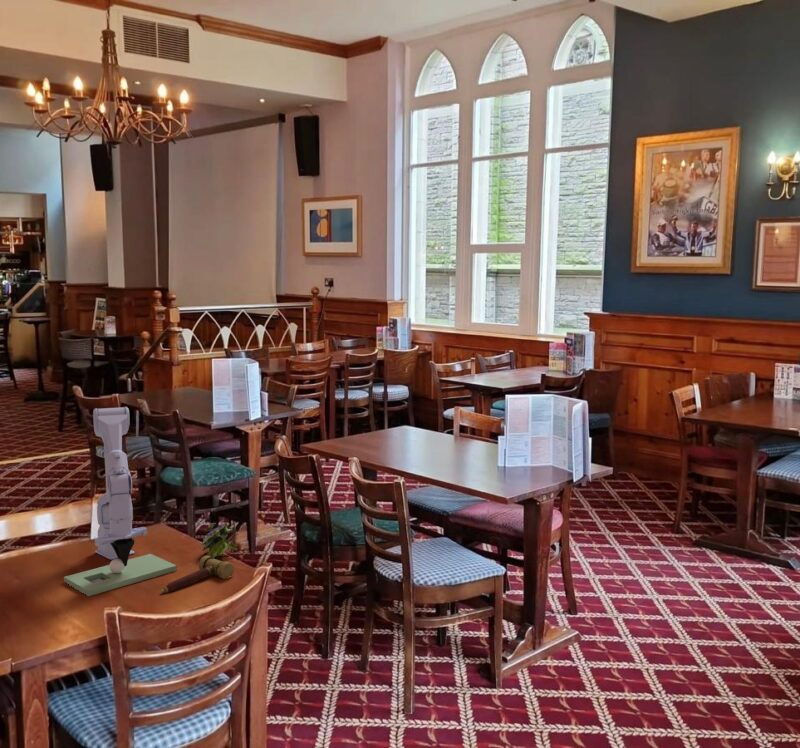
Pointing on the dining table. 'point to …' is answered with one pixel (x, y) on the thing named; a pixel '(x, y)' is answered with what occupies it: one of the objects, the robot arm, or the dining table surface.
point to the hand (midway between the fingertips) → (122, 565)
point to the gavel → (202, 573)
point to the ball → (116, 566)
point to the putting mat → (119, 575)
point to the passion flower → (218, 540)
